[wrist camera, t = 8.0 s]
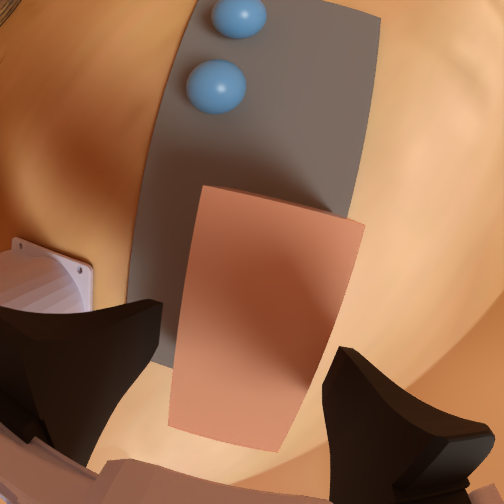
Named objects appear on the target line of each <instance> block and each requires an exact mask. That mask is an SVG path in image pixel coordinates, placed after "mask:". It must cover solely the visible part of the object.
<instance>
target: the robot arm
mask: <svg viewBox="0 0 504 504" xmlns="http://www.w3.org/2000/svg"><path fill="white" fill-rule="evenodd" d="M80 267H81V268H82V271H81V270H80ZM92 299H93V269H92V267H91V266H90V265H89V264H87V263H84V262H81V261H79V260H76V259H73V258H70V257H68V256H65V255H62V254H59V253H57V252H54V251H52V250H49V249H46V248H44V247H41V246H39V245H36V244H34V243H31V242H29V241H26V240H24V239H21V238H19V237H14V238H13V239H12V249H10V250H7V251H3V252H0V498H1V499H3V500H4V501H5V502H6V503H7V504H504V502H503V500H502V498H501V496H500V494H499V492H498V490H497V488H496V487H495V484H494V483H493V484H489V485H487V486H484V487H481V488H479V489H476V490H474V491H472V492H471V493H469V494H467V492H466V490H465V488H467V487H468V486H469V485H470V482H469V480H468V478H467V477H468V476H469V475H470V474H471V473H472V472H473V471H474V470H475V469H476V468H477V467H478V466H479V465H480V464H481V463H482V462H483V460H484V459H485V458H486V457H487V455H488V454H489V453H490V451H491V449H492V448H493V445H494V442H495V436H494V434H493V433H492V431H491V430H490V428H489V427H488V426H487V425H486V424H484V423H479V422H475V421H470V420H466V419H463V418H459V417H457V416H454V415H451V414H448V413H446V412H443V411H441V410H438V409H436V408H434V407H432V406H430V405H428V404H426V403H424V402H422V401H421V400H419V399H417V398H416V397H414V396H412V395H411V394H409V393H408V392H406V391H405V390H403V389H402V388H400V387H399V386H398V385H396V384H395V383H394V382H393V381H391V380H390V379H389V378H388V377H386V376H385V375H384V374H383V373H382V372H380V371H379V370H378V369H377V368H376V367H375V366H374V365H372V364H371V363H370V362H369V361H368V360H367V359H366V358H364V357H363V356H362V355H361V354H360V353H358V352H357V351H356V350H354V349H353V348H347V347H341V346H339V347H338V350H337V352H336V355H335V357H334V359H333V362H332V364H331V366H330V369H329V371H328V373H327V376H326V378H325V380H324V382H323V384H322V405H323V412H324V418H325V424H326V429H327V435H328V441H329V448H330V469H331V472H330V497H329V501H328V500H325V499H319V498H313V497H308V496H303V495H291V494H280V493H273V492H265V491H258V490H251V489H246V488H240V487H235V486H230V485H225V484H221V483H216V482H212V481H208V480H204V479H201V478H197V477H193V476H190V475H186V474H183V473H180V472H176V471H173V470H170V469H167V468H164V467H161V466H158V465H154V464H150V463H146V462H142V461H138V460H135V459H121V460H110V461H107V463H106V464H105V466H104V467H103V469H102V471H101V472H100V474H97V473H95V472H93V471H91V470H89V469H87V468H86V466H87V464H88V461H89V459H90V457H91V454H92V452H93V450H94V448H95V446H96V443H97V441H98V439H99V437H100V435H101V433H102V431H103V429H104V427H105V426H106V424H107V422H108V420H109V418H110V416H111V415H112V413H113V411H114V409H115V408H116V406H117V404H118V403H119V401H120V400H121V398H122V397H123V395H124V394H125V393H126V392H127V390H128V389H129V388H130V387H131V385H132V384H133V383H134V381H135V380H136V379H137V378H138V376H139V375H140V374H141V372H142V371H143V370H144V369H145V367H146V366H147V365H148V363H149V362H150V360H151V358H152V357H153V355H154V353H155V351H156V349H157V347H158V346H159V338H160V328H161V319H162V310H163V303H162V302H159V301H156V300H153V299H143V300H139V301H135V302H131V303H127V304H123V305H119V306H115V307H110V308H105V309H100V310H95V311H92Z"/></svg>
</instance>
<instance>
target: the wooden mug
mask: <svg viewBox="0 0 504 504" xmlns="http://www.w3.org/2000/svg"><path fill="white" fill-rule="evenodd" d="M20 1H21V0H0V25H1V24H2V23H3V22H4V21H5V20H6V19H7V18H8V16H9V15H10V14H11V13H12V11H13V10H14V9H15V8H16V6H17V5H18V3H19V2H20Z"/></svg>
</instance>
